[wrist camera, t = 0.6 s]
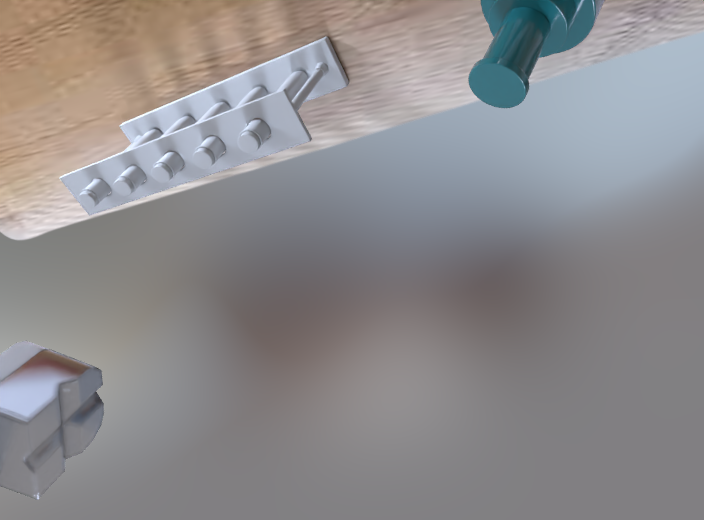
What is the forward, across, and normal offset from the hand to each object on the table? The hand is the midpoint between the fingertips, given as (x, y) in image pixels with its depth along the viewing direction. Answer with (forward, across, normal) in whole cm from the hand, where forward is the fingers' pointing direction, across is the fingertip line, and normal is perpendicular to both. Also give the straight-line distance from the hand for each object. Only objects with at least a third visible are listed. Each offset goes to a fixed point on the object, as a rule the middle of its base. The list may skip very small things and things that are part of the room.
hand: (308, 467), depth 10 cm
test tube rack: (+46, +24, +9) cm, 53 cm away
